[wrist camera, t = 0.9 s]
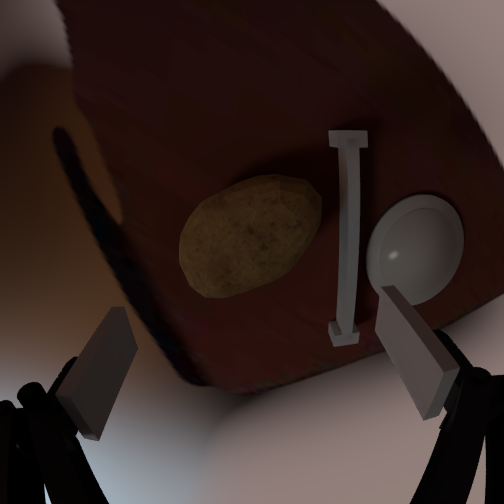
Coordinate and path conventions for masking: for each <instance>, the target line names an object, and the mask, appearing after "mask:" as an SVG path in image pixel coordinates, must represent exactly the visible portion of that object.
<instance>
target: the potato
mask: <svg viewBox="0 0 504 504" xmlns="http://www.w3.org/2000/svg"><path fill="white" fill-rule="evenodd" d="M321 210H322V197H321V196H320V195H319V194H318V193H317V191H316V190H315V189H314V188H313V187H312V186H311V184H310V183H309V182H308V181H307V180H305V179H300V178H295V177H290V176H285V175H280V174H271V175H261V176H255V177H252V178H249V179H247V180H244V181H241V182H238V183H236V184H234V185H232V186H230V187H228V188H226V189H224V190H222V191H220V192H218V193H217V194H215V195H213V196H211V197H209V198H208V199H206V200H204V201H202V202H201V203H200V204H199V205H198V206H197V208H196V209H195V210H194V212H193V213H192V214H191V216H190V217H189V218H188V220H187V222H186V225H185V227H184V229H183V231H182V233H181V235H180V246H179V262H180V265H181V267H182V269H183V272H184V274H185V276H186V278H187V281H188V283H189V285H190V286H191V287H192V288H194V289H195V290H196V291H197V292H199V293H200V294H201V295H202V296H204V297H205V298H226V297H230V296H233V295H236V294H240V293H243V292H245V291H248V290H250V289H253V288H255V287H258V286H261V285H264V284H267V283H269V282H272V281H275V280H277V279H278V278H280V277H281V276H283V275H284V274H286V273H287V272H289V271H290V270H292V268H293V267H294V266H295V264H296V263H297V262H298V260H299V259H300V257H301V256H302V255H303V253H304V252H305V251H306V249H307V248H308V247H309V245H310V244H311V242H312V241H313V239H314V237H315V235H316V233H317V231H318V228H319V226H320V224H321Z"/></svg>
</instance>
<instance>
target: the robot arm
mask: <svg viewBox="0 0 504 504" xmlns="http://www.w3.org/2000/svg"><path fill="white" fill-rule="evenodd" d="M375 332H376V334H377V335H378V337H379V339H380V341H381V342H382V344H383V346H384V348H385V349H386V351H387V353H388V355H389V356H390V358H391V360H392V362H393V364H394V366H395V367H396V369H397V371H398V373H399V375H400V377H401V378H402V380H403V382H404V384H405V386H406V387H407V390H408V391H409V393H410V395H411V397H412V399H413V401H414V403H415V405H416V407H417V409H418V411H419V413H420V414H421V417H422V419H423V420H427V419H430V418H433V417H436V416H439V414H440V412H441V410H442V408H443V406H444V408H445V410H446V411H447V414H446V416H445V418H444V419H443V421H442V423H441V425H440V427H439V428H440V429H441V430H440V433H439V436H438V439H437V441H436V444H435V447H434V450H433V452H432V455H431V457H430V460H429V462H428V465H427V467H426V470H425V472H424V474H423V476H422V479H421V481H420V483H419V485H418V488H417V490H416V492H415V494H414V496H413V498H412V500H411V502H410V504H466V502H467V499H468V496H469V493H470V490H471V487H472V483H473V480H474V477H475V474H476V470H477V466H478V463H479V458H480V455H481V450H482V446H483V441H484V437H485V443H486V488H485V504H504V375H493V376H491V374H490V373H489V372H488V371H487V370H486V369H483V368H481V367H473V366H472V364H471V363H470V362H469V361H468V359H467V358H466V357H465V356H464V354H463V353H462V352H461V351H460V349H458V347H457V346H456V344H455V343H453V341H452V339H450V337H449V336H448V335H447V334H446V333H444V332H442V331H441V330H439V329H437V330H433V331H432V330H431V329H430V328H429V326H428V325H427V324H426V323H425V321H424V320H423V319H422V318H421V316H420V315H419V314H418V313H417V312H416V310H415V309H414V308H413V307H412V306H411V304H410V303H409V302H408V301H407V300H406V299H405V297H404V296H403V295H402V294H401V293H400V292H399V290H398V289H397V288H396V287H395V286H394V285H390V286H382V287H381V289H380V298H379V306H378V313H377V320H376V327H375ZM137 350H138V347H137V344H136V341H135V338H134V335H133V333H132V329H131V326H130V323H129V320H128V317H127V313H126V310H125V307H111V309H110V311H109V312H108V313H107V315H106V316H105V318H104V319H103V321H102V322H101V323H100V325H99V326H98V328H97V329H96V331H95V332H94V334H93V335H92V337H91V338H90V340H89V341H88V343H87V344H86V346H85V347H84V349H83V350H82V352H81V353H80V355H79V357H73V358H72V359H70V360H69V361H68V362H67V363H66V364H65V366H64V367H63V369H62V372H60V374H59V375H58V378H56V380H55V381H54V383H53V384H52V386H51V388H50V389H49V391H48V393H46V392H45V390H44V389H43V387H42V385H41V384H40V383H38V382H31V383H28V384H26V385H24V386H23V387H22V388H21V389H20V390H19V392H18V393H17V399H18V400H19V402H20V403H21V405H22V406H23V408H15V406H14V405H13V403H12V402H11V401H9V400H3V401H0V504H46V501H45V489H44V484H45V487H46V490H47V493H48V496H49V498H50V501H51V504H109V503H108V501H107V499H106V497H105V495H104V494H103V492H102V490H101V488H100V486H99V484H98V482H97V480H96V478H95V476H94V474H93V472H92V470H91V468H90V465H89V463H88V461H87V459H86V457H85V454H84V452H83V450H82V447H81V445H80V443H79V440H78V439H77V438H76V434H77V432H78V430H79V432H80V433H81V435H82V436H83V437H84V438H86V439H90V440H95V441H99V440H100V437H101V435H102V432H103V430H104V427H105V424H106V422H107V419H108V417H109V415H110V412H111V410H112V407H113V405H114V403H115V400H116V398H117V395H118V393H119V391H120V388H121V386H122V384H123V381H124V379H125V376H126V374H127V372H128V370H129V368H130V365H131V363H132V361H133V358H134V356H135V354H136V352H137Z"/></svg>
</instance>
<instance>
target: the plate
mask: <svg viewBox="0 0 504 504" xmlns="http://www.w3.org/2000/svg"><path fill="white" fill-rule="evenodd" d="M463 246H464V233H463V227H462V223H461V221H460V218H459V216H458V214H457V212H456V211H455V210H454V208H453V207H452V206H451V205H450V204H449V203H448V202H446V201H445V200H443V199H441V198H438V197H436V196H434V195H429V194H414V195H410V196H407V197H405V198H402V199H401V200H399V201H397V202H395V203H394V204H393V205H392V206H390V207H389V208H388V209H387V210H386V211H385V212H384V213H383V214H382V215H381V217H380V218H379V219H378V221H377V222H376V224H375V226H374V227H373V229H372V231H371V234H370V236H369V239H368V242H367V246H366V252H365V267H366V273H367V277H368V279H369V281H370V284H371V285H372V287H373V288H374V290H375V291H376V292H377V293H378V295H379V296H380V289H381V287H382V286H390V285H394V286H395V287H396V288H397V289H398V290H399V292H400V293H401V294H402V295H403V296H404V297H405V299H406V300H407V301H408V302H409V303H410V304H411V305H416V304H419V303H422V302H425V301H427V300H429V299H430V298H432V297H433V296H435V295H436V294H438V293H439V292H440V291H441V290H442V289H443V288H444V287H445V286H446V285H447V284H448V282H449V281H450V280H451V278H452V277H453V275H454V274H455V272H456V270H457V268H458V265H459V263H460V260H461V257H462V253H463Z"/></svg>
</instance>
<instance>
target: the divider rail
mask: <svg viewBox="0 0 504 504" xmlns="http://www.w3.org/2000/svg"><path fill="white" fill-rule="evenodd" d="M329 146H331V147H337V148H338V158H339V192H340V243H339V278H338V299H337V316H336V321H329V335H330V337H331V340H332V343H333V346H334V347H335V346H342V345H349V344H356V343H358V339H359V331H358V329H357V327H356V325H355V323H354V311H355V300H356V288H357V273H358V256H359V230H360V158H359V147H368V136H367V131H357V130H333V131H329Z"/></svg>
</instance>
